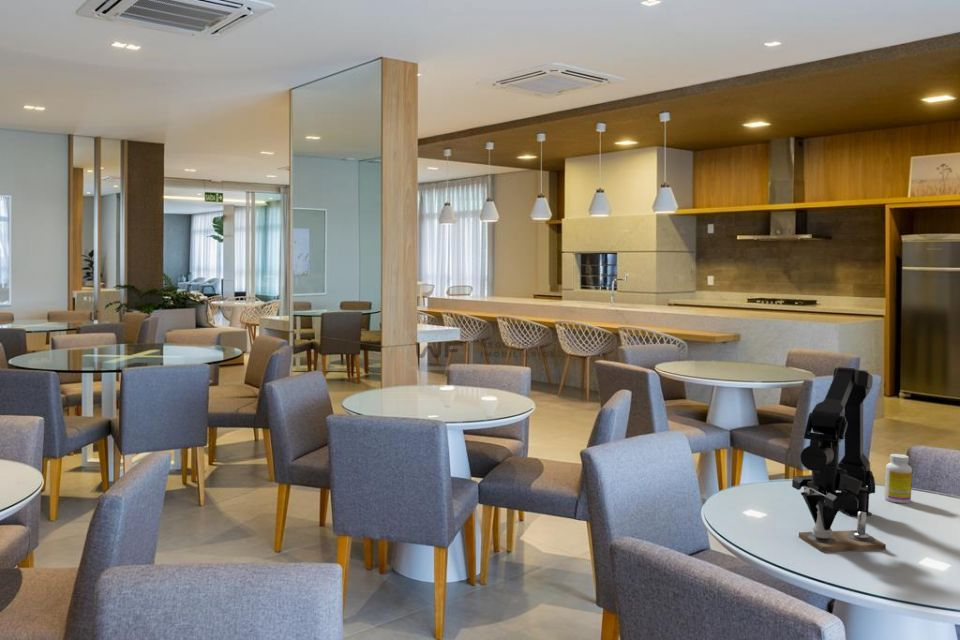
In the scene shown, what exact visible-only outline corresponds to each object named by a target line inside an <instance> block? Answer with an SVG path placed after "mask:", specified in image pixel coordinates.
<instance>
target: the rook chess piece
mask: <svg viewBox="0 0 960 640" xmlns="http://www.w3.org/2000/svg"><path fill="white" fill-rule="evenodd" d="M819 502H821V501H819ZM816 507H817V509H818V511H817V521H816V524H814V525H813V527H812V531H811V532H812V534H813V535H814V536H815V537H817V538H822V539H829V538H831V537H832V534H831V533H832V531H833V530H832V528H830V530H825V529H824V526H823V523H822V519H821V515H820V510H819V506H818V504H817V505H816Z"/></svg>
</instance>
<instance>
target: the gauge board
mask: <svg viewBox="0 0 960 640" xmlns="http://www.w3.org/2000/svg"><path fill="white" fill-rule="evenodd" d="M812 532H813V531H803V532H802V531H801V532H798V538H799V539H801V540H803V541H804V542H806V543H807V544H809V545H810V546H811V547H813V548H814V549H816V550H818V551H820V552H821V553H829V552H856V551H857V552H858V551H875V550H876V551H878V550H881V551H882V550H886V548H887V547H886V546H887V544H886V543H884V542H883V541H880V540H879V539H877V538H875V537H874V536H872V535H870V534H868V535H869V536H868V539H858V538H855V537H854V532H857V529H856V530H832V533H831V534H832V537H831V538H829V539H822V538H817V537H815V536H814V535H813V534H812Z"/></svg>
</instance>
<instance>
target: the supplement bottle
mask: <svg viewBox="0 0 960 640" xmlns="http://www.w3.org/2000/svg"><path fill="white" fill-rule="evenodd" d="M889 456H890V457H889V461H890V462H888V463H887V464H886V465H885V473H884V474H885V475H884V476H885V479H884V499H885V500H886V501H888V502H892V503H895V502H898V503H897V504H908V503H907V502H909V503H910V502H911V501H912V485H913V484H912V482H913V477H912V476H913V468H912V466H910V465H909V464H908V463H909V461H910V457H909V456H908V455H906V454H901V453H891V454H890V455H889Z"/></svg>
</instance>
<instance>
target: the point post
mask: <svg viewBox="0 0 960 640" xmlns="http://www.w3.org/2000/svg"><path fill="white" fill-rule="evenodd" d="M856 521H857V523H856V525H857V527H856V530H857V532H854V537H855V538H858V539H868V536H869V535H870V534H868V533H867V532H866V530H867V529H866V527H867V526H866V525H867V523H866V522H867V515H866V512H862V511H859V512H858V516H857V520H856Z"/></svg>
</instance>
